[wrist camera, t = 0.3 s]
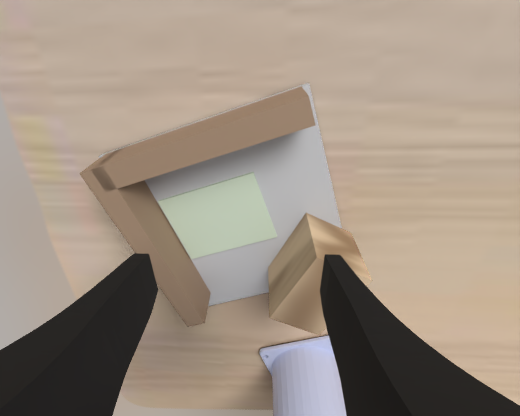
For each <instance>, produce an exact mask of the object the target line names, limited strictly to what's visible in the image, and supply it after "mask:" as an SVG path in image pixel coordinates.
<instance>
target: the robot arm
mask: <svg viewBox="0 0 520 416" xmlns="http://www.w3.org/2000/svg"><path fill="white" fill-rule="evenodd" d="M157 292H158V288H157V284H156V280H155V276H154V272H153V268H152V264H151V260H150V256H149V254H139V253H134V254H133V255H132V256H130V257H129V258H128V259H127V260H126V261H124V262H123V263H122V264H121V265H120V266H119V267H117V268H116V269H115V270H114V271H113V272H111V273H110V274H109V275H108V276H107V277H106V278H104V279H103V280H102V281H101V282H99V283H98V284H97V285H96V286H95V287H93V288H92V289H91V290H90V291H88V292H87V293H86V294H84V295H83V296H82V297H81V298H79V299H78V300H77V301H75V302H74V303H73V304H72V305H70V306H69V307H68V308H66V309H65V310H63V311H62V312H61V313H59V314H58V315H56V316H55V317H53V318H52V319H50V320H49V321H47V322H46V323H44V324H43V325H41V326H40V327H38V328H37V329H35V330H33V331H32V332H30V333H29V334H27V335H25V336H23V337H22V338H20V339H18V340H17V341H15V342H13V343H12V344H10V345H9V346H7V347H5V348H3V349H1V350H0V416H112V415H113V411H114V408H115V405H116V402H117V398H118V396H119V392H120V389H121V386H122V383H123V380H124V377H125V375H126V372H127V369H128V367H129V364H130V362H131V360H132V357H133V355H134V353H135V350H136V348H137V346H138V343H139V341H140V339H141V337H142V334H143V332H144V330H145V327H146V325H147V322H148V320H149V318H150V315H151V313H152V309H153V306H154V303H155V299H156V295H157ZM320 297H321V304H322V310H323V316H324V319H325V323H326V327H327V331H328V334H329V335H328V336H323V337H318V338H312V339H307V340H302V341H297V342H292V343H287V344H281V345H276V346H271V347H266V348H262V349H260V356H261V357H262V359H263V361H264V363H265V365H266V366H267V368H268V370H269V372H270V374H271V376H272V385H273V416H520V406H519V405H518V404H516V403H514V402H513V401H511V400H509V399H508V398H506V397H505V396H503V395H501V394H500V393H498V392H496V391H495V390H493V389H491V388H490V387H488V386H487V385H485V384H483V383H482V382H480V381H479V380H477V379H476V378H474V377H473V376H471V375H470V374H468V373H467V372H465V371H464V370H462V369H461V368H459V367H458V366H456V365H455V364H454V363H452V362H451V361H449V360H448V359H447V358H445V357H444V356H442V355H441V354H440V353H439V352H437V351H436V350H435V349H433V348H432V347H431V346H429V345H428V344H427V343H425V342H424V341H423V340H422V339H420V338H419V337H418V336H417V335H416V334H414V333H413V332H412V331H411V330H410V329H409V328H407V327H406V326H405V325H404V324H403V323H402V322H401V321H400V320H398V319H397V318H396V317H395V316H394V315H393V314H392V313H391V312H390V311H389V310H388V309H387V308H386V307H385V306H384V305H383V304H382V303H381V302H380V301H379V300H378V299H377V298H376V296H375V295H374V294H373V293H372V292H371V291H370V290H369V289H368V288H367V286H366V285H365V284H364V283H363V282H362V281H361V280H360V278H359V277H358V276H357V275H356V274H355V272H354V271H353V270H352V269H351V267H350V266H349V265H348V264H347V262H346V261H345V260H344V259H343V257H342V256H341V255H334V254H325V257H324V264H323V271H322V278H321V285H320Z"/></svg>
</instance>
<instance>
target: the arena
mask: <svg viewBox="0 0 520 416" xmlns="http://www.w3.org/2000/svg"><path fill="white" fill-rule="evenodd" d="M80 175H81V176H82V178H83V179H84V181H85V182H86V184H87V185H88V186H89V188H90V189H91V191H92V192H93V193H94V195H95V196H96V198H97V199H98V201H99V202H100V203H101V205H102V206H103V208H104V209H105V210H106V212H107V213H108V215H109V216H110V218H111V219H112V220H113V222H114V223H115V225H116V226H117V227H118V229H119V230H120V232H121V233H122V235H123V236H124V237H125V239H126V240H127V242H128V243H129V244H130V246H131V247H132V249H133V250H134V252H135V253H139V254H149V256H150V260H151V264H152V268H153V272H154V276H155V280H156V283H157V284H158V286H159V287H160V288H161V290H162V291H163V293H164V294H165V295H166V297H167V298H168V300H169V301H170V303H171V304H172V305H173V307H174V308H175V310H176V311H177V312H178V314H179V315H180V317H181V318H182V320H183V321H184V322H185V324H186V325H187V327H188V326H193V325H197V324H202V323H205V319H206V314H207V309H208V306H211V305H215V304H220V303H224V302H229V301H233V300H238V299H242V298H246V297H251V296H255V295H260V294H264V293H268V292H269V282H268V267H269V266H270V264H271V263H272V261H273V260H274V258H275V257H276V255H277V254H278V252H279V251H280V250H281V248H282V247H283V245H284V244H285V242H286V241H287V239H288V238H289V237H290V235H291V234H292V232H293V231H294V229H295V228H296V226H297V225H298V223H299V222H300V221H301V219H302V218H303V216H304V215H305V213H308V214H310V215H313V216H315V217H317V218H319V219H322V220H324V221H326V222H328V223H330V224H333V225H335V226H337V227H339V228H342V226H341V222H340V218H339V213H338V209H337V204H336V200H335V195H334V191H333V187H332V182H331V178H330V173H329V169H328V165H327V160H326V156H325V151H324V147H323V143H322V138H321V134H320V129H319V125H318V121H317V116H316V112H315V107H314V103H313V98H312V94H311V90H310V85H309V83H306V84H303V85H300V86H297V87H294V88H291V89H289V90H286V91H283V92H280V93H277V94H274V95H271V96H268V97H265V98H263V99H260V100H257V101H254V102H251V103H248V104H245V105H242V106H239V107H237V108H234V109H231V110H228V111H225V112H222V113H219V114H216V115H214V116H211V117H208V118H205V119H202V120H199V121H196V122H193V123H190V124H188V125H185V126H182V127H179V128H176V129H173V130H170V131H167V132H164V133H162V134H159V135H156V136H153V137H150V138H147V139H144V140H141V141H138V142H136V143H133V144H130V145H127V146H124V147H121V148H118V149H115V150H112V151H110V152H107V153H104V154H101V155H100V156H99V159H98V160H97V161H95V162H94V163H93V164H92V165H90V166H89V167H88V168H86V169H85V170H84V171H82V172H81V173H80Z"/></svg>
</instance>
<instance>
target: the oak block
mask: <svg viewBox="0 0 520 416" xmlns="http://www.w3.org/2000/svg"><path fill="white" fill-rule="evenodd" d="M325 254H334V255H341V256H342V257H343V259H344V260H345V261H346V262H347V264H348V265H349V266H350V267H351V269H352V270H353V271H354V272H355V274H356V275H357V276H358V277H359V278H360V280H361V281H362V282H363V283H364V284H365V285H366V286H367V285H368V284H369V283H370V282H371V281H372V279H371V276H370V274H369V272H368V270H367V267H366V265H365V263H364V261H363V258H362V256H361V254H360V252H359V249H358V247H357V245H356V243H355V241H354V238H353V236H352V234H351V233H350V232H348V231H346V230H344V229H342V228H339V227H337V226H335V225H333V224H330V223H328V222H326V221H324V220H322V219H319V218H317V217H315V216H313V215H310V214H308V213H305V215H304V216H303V218H302V219H301V221H300V222H299V223H298V225H297V226H296V228H295V229H294V231H293V232H292V234H291V235H290V237H289V238H288V239H287V241H286V242H285V244H284V245H283V247H282V248H281V250H280V251H279V252H278V254H277V255H276V257H275V258H274V260H273V261H272V263H271V264H270V266H269V267H268V282H269V318H270V319H273V320H276V321H279V322H282V323H285V324H288V325H291V326H293V327H296V328H299V329H302V330H305V331H308V332H311V333H314V334H317V335H320V334H321V333H322V332H323V331H324V330H325V329H326V328H327V327H326V323H325V319H324V316H323V310H322V304H321V297H320V285H321V278H322V271H323V264H324V257H325Z"/></svg>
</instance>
